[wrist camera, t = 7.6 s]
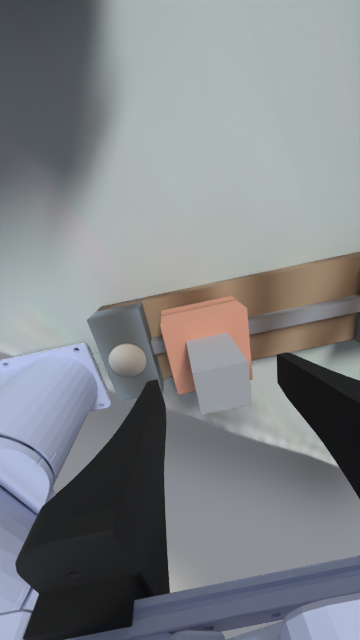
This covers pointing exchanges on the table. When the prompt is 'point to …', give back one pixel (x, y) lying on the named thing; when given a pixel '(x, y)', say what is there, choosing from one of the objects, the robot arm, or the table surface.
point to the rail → (262, 308)
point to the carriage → (210, 352)
